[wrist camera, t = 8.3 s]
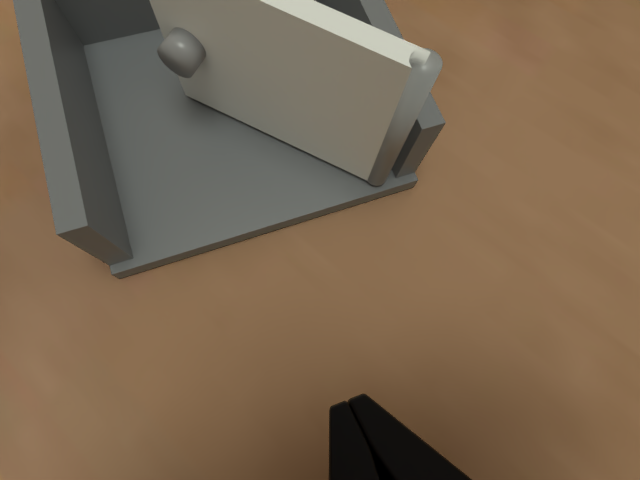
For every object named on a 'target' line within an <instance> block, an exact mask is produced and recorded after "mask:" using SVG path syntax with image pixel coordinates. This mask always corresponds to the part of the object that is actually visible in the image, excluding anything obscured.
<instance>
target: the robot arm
mask: <svg viewBox="0 0 640 480" xmlns="http://www.w3.org/2000/svg"><path fill="white" fill-rule="evenodd" d="M329 480H472V479H470V478H469V477H468V476H467V475H465V474H464V473H463V472H462V471H460V470H459V469H458V468H457V467H455V466H454V465H453V464H452V463H451V462H449V461H448V460H447V459H446V458H444V457H443V456H442V455H441V454H439V453H438V452H437V451H436V450H434V449H433V448H432V447H431V446H429V445H428V444H427V443H426V442H424V441H423V440H422V439H421V438H420V437H418V436H417V435H416V434H415V433H413V432H412V431H411V430H410V429H408V428H407V427H406V426H405V425H403V424H402V423H401V422H400V421H398V420H397V419H396V418H395V417H393V416H392V415H391V414H390V413H389V412H387V411H386V410H385V409H384V408H382V407H381V406H380V405H379V404H377V403H376V402H375V401H374V400H372V399H371V398H370V397H369V396H367V395H366V394H361V395H358V396H356V397H353V398H350V399H349V400H348V402H347V401H343V402H340V403H338V404H335V405H333V406H331V407H330V411H329Z"/></svg>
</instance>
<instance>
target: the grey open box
mask: <svg viewBox="0 0 640 480" xmlns="http://www.w3.org/2000/svg"><path fill="white" fill-rule="evenodd" d="M314 1H316V2H319V3H321V4H323V5H325V6H328V7H330V8H332V9H335V10H337V11H339V12H341V13H344V14H346V15H348V16H350V17H353V18H355V19H357V20H360V21H362V22H364V23H366V24H369V25H371V26H373V27H376V28H378V29H380V30H382V31H385V32H387V33H389V34H391V35H394V36H396V37H398V38H401V39H403V37H402V35H401V33H400V31H399V29H398V27H397V25H396V23H395V21H394V19H393V17H392V15H391V13H390V11H389V9H388V7H387V5H386V3H385V1H384V0H314ZM13 3H14V8H15V14H16V19H17V25H18V30H19V35H20V41H21V46H22V52H23V57H24V62H25V68H26V73H27V79H28V84H29V89H30V95H31V100H32V106H33V111H34V116H35V122H36V127H37V133H38V138H39V143H40V149H41V154H42V159H43V165H44V170H45V176H46V181H47V186H48V192H49V197H50V203H51V208H52V213H53V219H54V224H55V230H56V235H58V236H60V237H62V238H63V239H65V240H67V241H68V242H70V243H72V244H74V245H75V246H77V247H79V248H80V249H82V250H84V251H86V252H87V253H89V254H91V255H92V256H94V257H96V258H98V259H99V260H101V261H103V262H104V263H106V264H108V265H110V270H111V274H112V275H113V276H115V277H117V278H119V279H121V278H124V277H127V276H130V275H133V274H137V273H140V272H143V271H146V270H149V269H153V268H156V267H159V266H162V265H166V264H169V263H172V262H175V261H178V260H182V259H185V258H188V257H191V256H194V255H198V254H201V253H204V252H207V251H211V250H214V249H217V248H220V247H223V246H227V245H230V244H233V243H236V242H239V241H243V240H246V239H249V238H252V237H255V236H259V235H262V234H265V233H268V232H272V231H275V230H278V229H281V228H284V227H288V226H291V225H294V224H297V223H300V222H304V221H307V220H310V219H313V218H316V217H320V216H323V215H326V214H329V213H333V212H336V211H339V210H342V209H345V208H349V207H352V206H355V205H358V204H361V203H365V202H368V201H371V200H374V199H378V198H381V197H384V196H387V195H390V194H394V193H397V192H400V191H403V190H406V189H410V188H413V187H414V185H415V184H416V182H417V181H418V179H417V176H416V174H415V171H416V170H417V168H418V166H419V165H420V163H421V161H422V160H423V158H424V157H425V155H426V153H427V152H428V150H429V149H430V147H431V145H432V144H433V142H434V141H435V139H436V137H437V136H438V134H439V133H440V131H441V129H442V128H443V126H444V125H445V123H446V122H445V121H444V119H443V117H442V115H441V113H440V111H439V109H438V107H437V105H436V103H435V101H434V99H433V97H432V95H431V93H429V95H428V97H427V99H426V101H425V103H424V105H423V107H422V109H421V111H420V113H419V115H418V117H417V119H416V121H415V123H414V125H413V127H412V129H411V131H410V133H409V135H408V137H407V139H406V141H405V143H404V145H403V147H402V149H401V151H400V153H399V155H398V157H397V159H396V161H395V163H394V165H393V167H392V169H391V171H390V173H389V175H388V177H387V179H386V181H385V183H383V184H382V185H379V186H374V185H371V184H370V183H369V182H368V181H367V180H365V179H362V178H360V177H358V176H356V175H354V174H352V173H350V172H348V171H346V170H343V169H341V168H339V167H337V166H335V165H333V164H331V163H329V162H326V161H324V160H322V159H320V158H318V157H316V156H314V155H312V154H309V153H307V152H305V151H303V150H301V149H299V148H297V147H295V146H292V145H290V144H288V143H286V142H284V141H282V140H280V139H278V138H276V137H273V136H271V135H269V134H267V133H265V132H263V131H261V130H259V129H256V128H254V127H252V126H250V125H248V124H246V123H244V122H242V121H239V120H237V119H235V118H233V117H231V116H229V115H227V114H225V113H223V112H220V111H218V110H216V109H214V108H212V107H210V106H208V105H206V104H203V103H201V102H199V101H197V100H195V99H193V98H191V97H189V96H186V95H185V92H184V90H183V87H182V85H181V82H180V79H179V77H178V75H177V74H175V73H174V72H173V71H171V70H170V69H169V68H168V67H167V66H166V65H165V64H164V63H163V62H162V61H161V59H160V58H159V56H158V53H157V48H158V47H159V46H160V44H161V43H162V42H163V41H164V37H163V35H162V32H161V30H160V27H159V24H158V22H157V19H156V16H155V14H154V11H153V9H152V6H151V3H150V1H149V0H13ZM403 40H404V39H403Z"/></svg>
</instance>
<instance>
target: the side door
mask: <svg viewBox="0 0 640 480" xmlns="http://www.w3.org/2000/svg"><path fill="white" fill-rule="evenodd" d="M149 1H150V3H151V6H152V9H153V11H154V14H155V16H156V19H157V22H158V24H159V27H160V30H161V32H162V35H163V37H164V41H163V42H162V43H161V44H160V46H159V47H158V48H157V53H158V56H159V58H160V59H161V61H162V62H163V63H164V64H165V65H166V66H167V67H168V68H169V69H170V70H171V71H173V72H174V73H175V74H177V75H178V77H179V79H180V82H181V85H182V87H183V90H184V92H185V95H186V96H189V97H191V98H193V99H195V100H197V101H199V102H201V103H203V104H206V105H208V106H210V107H212V108H214V109H216V110H218V111H220V112H223V113H225V114H227V115H229V116H231V117H233V118H235V119H237V120H239V121H242V122H244V123H246V124H248V125H250V126H252V127H254V128H256V129H259V130H261V131H263V132H265V133H267V134H269V135H271V136H273V137H276V138H278V139H280V140H282V141H284V142H286V143H288V144H290V145H292V146H295V147H297V148H299V149H301V150H303V151H305V152H307V153H309V154H312V155H314V156H316V157H318V158H320V159H322V160H324V161H326V162H329V163H331V164H333V165H335V166H337V167H339V168H341V169H343V170H346V171H348V172H350V173H352V174H354V175H356V176H358V177H360V178H362V179H365V180H367V181H368V182H369V183H370V184H371V185H374V186H379V185H382V184H383V183H385V181H386V179H387V177H388V175H389V173H390V171H391V169H392V167H393V165H394V163H395V161H396V159H397V157H398V155H399V153H400V151H401V149H402V147H403V145H404V143H405V141H406V139H407V137H408V135H409V133H410V131H411V129H412V127H413V125H414V123H415V121H416V119H417V117H418V115H419V113H420V111H421V109H422V107H423V105H424V103H425V101H426V99H427V97H428V95H429V93H430V91H431V89H432V87H433V85H434V83H435V81H436V79H437V77H438V74H439V72H440V70H441V68H442V59H441V57H440V56H439V55H438V54H437V53H436V52H435V51H433V50H431V49H428V48H421V47H419V46H416V45H414V44H412V43H410V42H407V41H405V40H403V39H401V38H398V37H396V36H394V35H391V34H389V33H387V32H385V31H382V30H380V29H378V28H376V27H373V26H371V25H369V24H366V23H364V22H362V21H360V20H357V19H355V18H353V17H350V16H348V15H346V14H344V13H341V12H339V11H337V10H335V9H332V8H330V7H328V6H325V5H323V4H321V3H319V2H316V1H314V0H149Z"/></svg>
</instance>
